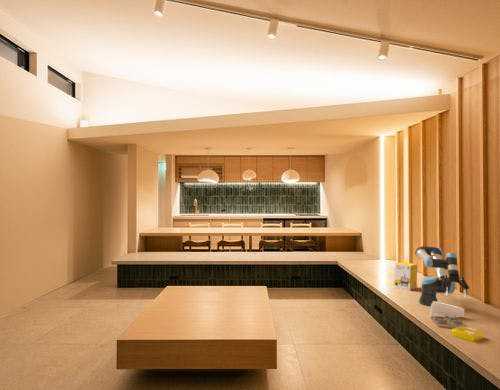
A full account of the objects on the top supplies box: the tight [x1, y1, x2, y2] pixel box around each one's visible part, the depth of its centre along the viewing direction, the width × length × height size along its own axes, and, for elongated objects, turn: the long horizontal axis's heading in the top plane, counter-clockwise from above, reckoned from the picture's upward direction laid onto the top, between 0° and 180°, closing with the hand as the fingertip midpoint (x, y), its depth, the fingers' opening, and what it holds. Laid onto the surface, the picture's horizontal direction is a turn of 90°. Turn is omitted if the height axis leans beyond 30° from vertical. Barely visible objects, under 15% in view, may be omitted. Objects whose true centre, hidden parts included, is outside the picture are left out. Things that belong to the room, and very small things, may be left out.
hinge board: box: [430, 315, 470, 330], centre depth 265 cm, size 20×20×4 cm
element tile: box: [451, 326, 485, 343], centre depth 242 cm, size 15×15×5 cm
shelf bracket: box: [429, 301, 466, 318], centre depth 282 cm, size 6×25×13 cm, turn 92°
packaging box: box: [393, 261, 418, 291], centre depth 375 cm, size 16×16×25 cm
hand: (456, 296), depth 287 cm, fingers open, 13 cm apart
